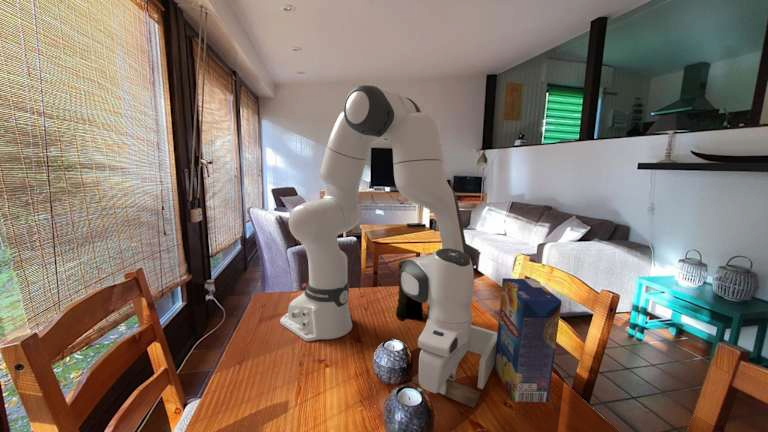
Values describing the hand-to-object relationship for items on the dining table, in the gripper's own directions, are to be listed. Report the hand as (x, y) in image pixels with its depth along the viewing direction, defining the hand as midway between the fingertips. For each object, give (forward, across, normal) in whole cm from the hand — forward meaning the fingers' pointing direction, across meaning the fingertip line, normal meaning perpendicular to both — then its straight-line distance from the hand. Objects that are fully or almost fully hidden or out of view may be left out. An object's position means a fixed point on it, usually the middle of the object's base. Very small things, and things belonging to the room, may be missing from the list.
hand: (446, 385), depth 73 cm
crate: (+2, -12, -1) cm, 12 cm away
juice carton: (+3, -12, +13) cm, 18 cm away
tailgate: (+1, -5, 0) cm, 5 cm away
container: (+2, -27, -24) cm, 36 cm away
